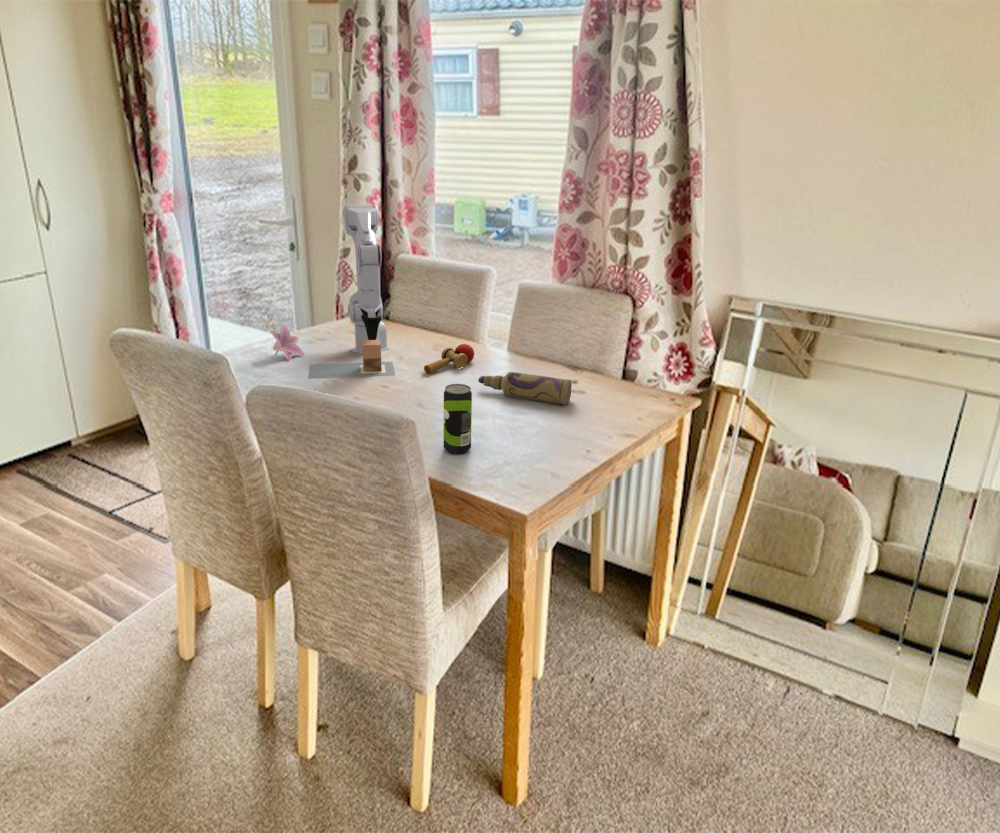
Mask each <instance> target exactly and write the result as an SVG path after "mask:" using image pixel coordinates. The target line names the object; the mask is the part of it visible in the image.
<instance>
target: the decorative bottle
mask: <svg viewBox="0 0 1000 833" xmlns="http://www.w3.org/2000/svg"><path fill="white" fill-rule="evenodd" d="M477 381H478V383H479V384H482V385H483V386H485V387H490V388H492V389H493V390H499V391H502V393H503V395H505V396H507V397H512V398H517V397H519V399H524V398H525V400H531V399H532V400H533V401H537V400H539V401H538V402H544V401H545V403H551V404H555V403H557V404H558V405H562V406H568V404H569V402H570V400H571V396H572V384H573V383H572V380H571V379H569V378H568V379H564V378H560V377H559V378H558V377H551V376H546V375H540V374H539V375H537V374H531V373H524V372H523V373H522V372H514V371H508V372H507V373H506V374H505V375H504V376H503V375H493V376H492V375H481V376H480V377H479V378H478V380H477ZM557 404H556V405H557Z"/></svg>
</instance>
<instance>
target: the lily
mask: <svg viewBox="0 0 1000 833" xmlns="http://www.w3.org/2000/svg"><path fill="white" fill-rule="evenodd" d="M269 333H270V334H271V335H272V337H273V338H274V339H275V340H276V341H275V343H274V344H273V347H272V350H273V351H276V353H275V354H274V355H275V356H277V354H278V353H279V352H283V353H284V355H285V357H286V359H287V361H288V362H290V361H292V358H293V355H297V356H300V357H304V356H305V352H304V351H303V349H302V348H301V347H300V346H299V345H298V344H297V343H298V342H299V337H298V336H296V335H291V332H290V329H289V328H288V326H287V324H286V323H285V322H284V321H282V323H281V326H280V330H279V332H277V331H275V330H270V329H269Z"/></svg>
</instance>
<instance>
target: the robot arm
mask: <svg viewBox="0 0 1000 833" xmlns="http://www.w3.org/2000/svg"><path fill="white" fill-rule="evenodd" d="M343 217H344V218H343V219H344V230H345V232H346V233H345V234H347V235H348V236H351V237H352V240H353V243H354V253H355V267H356V281H357V282H356V283H357V284H356V285H357V291H355V292H354V293H353V294H352V295H351V296H350V298H349V301H348V302H349V320H350V322H351V323H352V324H354V337H355V340H354V341H355V347H352V348H349V351H350V352H355V353H357V354H359V355H363V350H362V340H380V344H381V352H384V351H386V350H389V349H390V347H389V346H388V344H387V343H388V342H387V340H388V339H387V338H388V336H387V327H386V324H385V323H384V322H383V319H384V308H383V300H382V297H381V270H380V269H381V266H382V261H383V260H382V258H383V257H382V248H381V246H380V244H379V243H378V239H377V235H376V234H377V231H378V227H379V226H378V225H379V208H378V205H377V204H375V203H374V204H348V203H346V204H344V206H343Z"/></svg>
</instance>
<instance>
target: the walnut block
mask: <svg viewBox="0 0 1000 833" xmlns="http://www.w3.org/2000/svg"><path fill="white" fill-rule="evenodd" d="M381 362H382V357H381V358H373V359H363V358H362V363H363V367H364V372H380V371H382V368H381Z"/></svg>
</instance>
